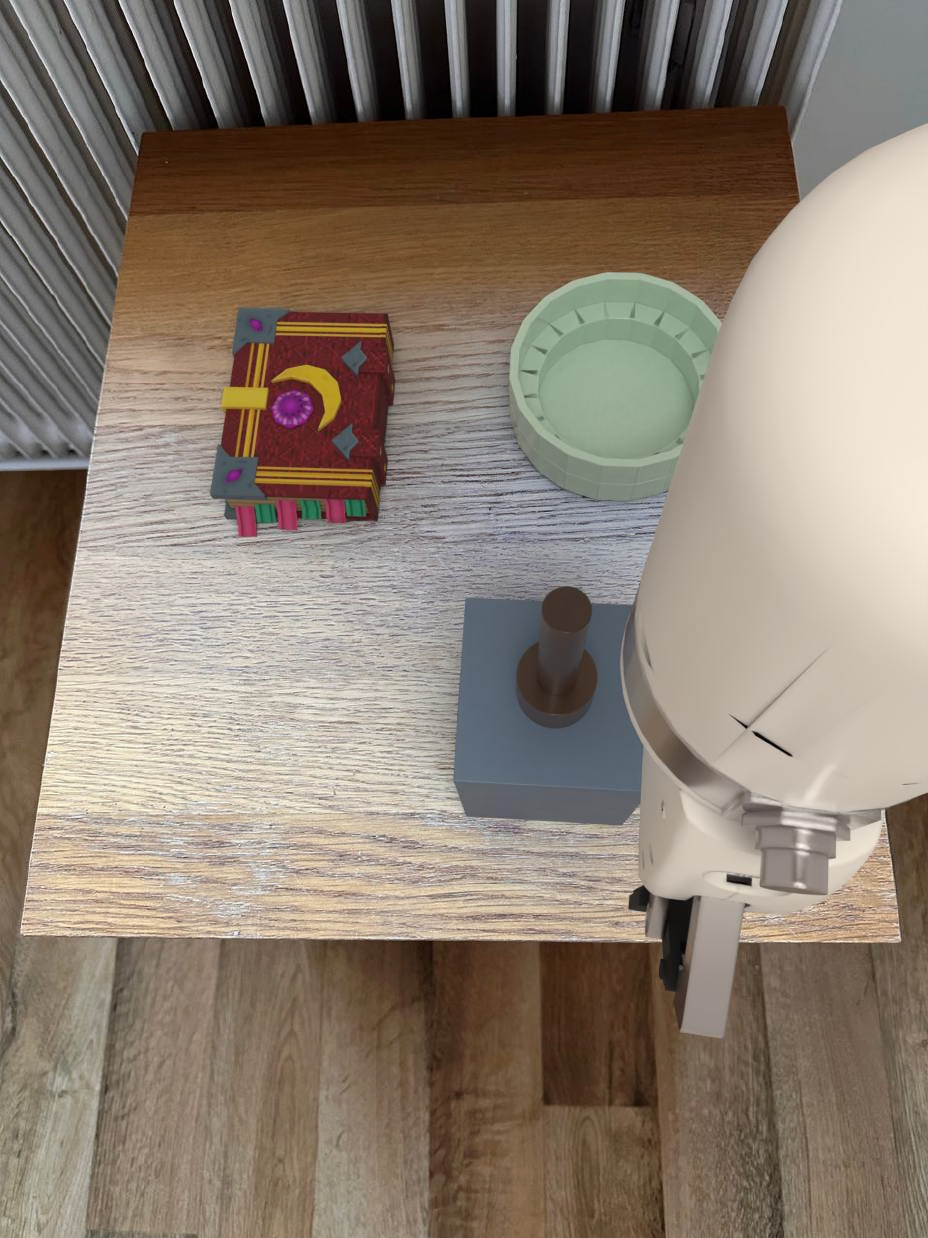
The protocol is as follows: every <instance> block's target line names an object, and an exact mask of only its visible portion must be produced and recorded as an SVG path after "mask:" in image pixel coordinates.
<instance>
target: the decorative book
mask: <svg viewBox="0 0 928 1238" xmlns="http://www.w3.org/2000/svg"><path fill="white" fill-rule="evenodd" d="M394 348H395V343H394V337H393V332H392V327H391V322H390V318H389V313H385V312H384V313H382V312H381V313H380V312H379V313H378V312H375V313H374V312H327V311H326V312H325V311H324V312H322V311H291V310H290V308H282V307H281V308H278V307H277V308H276V307H246V306H245V307H242V306H241V307H240V306H238V309H237V316H236V322H235V330H234V337H233V343H232V351H231V354H232V356H233V360H232V361H233V362H232V369H231V376H230V381H229V386H223V392H222V396H221V405H220V408H221V409H222V411H223V413H224V421H223V427H222V434H221V440H220V444H219V443H217V447H216V453H215V460H214V466H213V471H212V478H211V482H210V483H211V484H210V490H209V495H210V497H211V499H213V500H225V506H224V513H223V516H224V518H225V519H226V520H228V521H229V520H230V521H231V520H233V521H236V522H237V535H238V537H243V538H244V537H245V538H246V537H247V538H258V535H257V534H258V533H257V523H262V524H263V523H264V524H265V523H267V524H277V522H278V530H279V531H298V520H299V519H300V520H319V521H320V520H325V521H327V523H329V524H348V522H347V521H359V522H378V519H379V508H380V498H381V488H382V486H386V484H387V474H388V463H389V458H388V456H387V450H386V448H385V447H386V446H385V444H386V435H387V425H388V414H389V413H388V412H389V406H393V405H394V397H395V385H396V379H395V378H396V377H395V374H394V370H393V360H394V359H393V358H394ZM256 521H257V522H256Z"/></svg>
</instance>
